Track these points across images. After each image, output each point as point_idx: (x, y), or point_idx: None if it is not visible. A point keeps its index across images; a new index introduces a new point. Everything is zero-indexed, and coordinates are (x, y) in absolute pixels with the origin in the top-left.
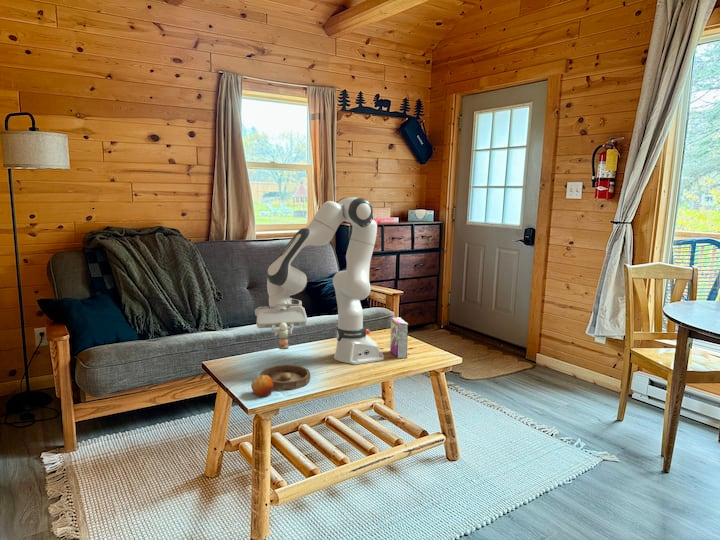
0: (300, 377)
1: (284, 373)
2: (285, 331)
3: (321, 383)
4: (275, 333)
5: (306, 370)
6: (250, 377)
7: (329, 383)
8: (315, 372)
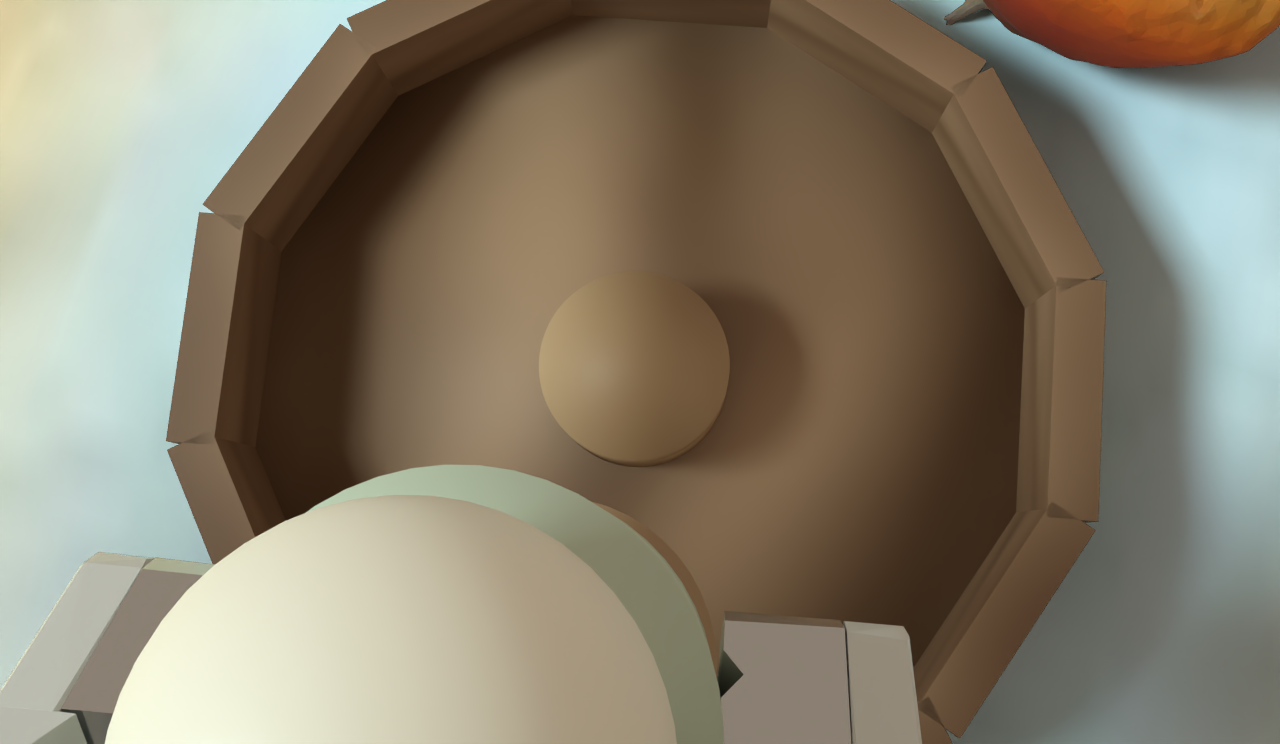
0: (372, 369)
1: (640, 411)
2: (401, 475)
3: (124, 85)
4: (902, 658)
5: (217, 379)
6: (1208, 738)
7: (9, 48)
8: (38, 591)
